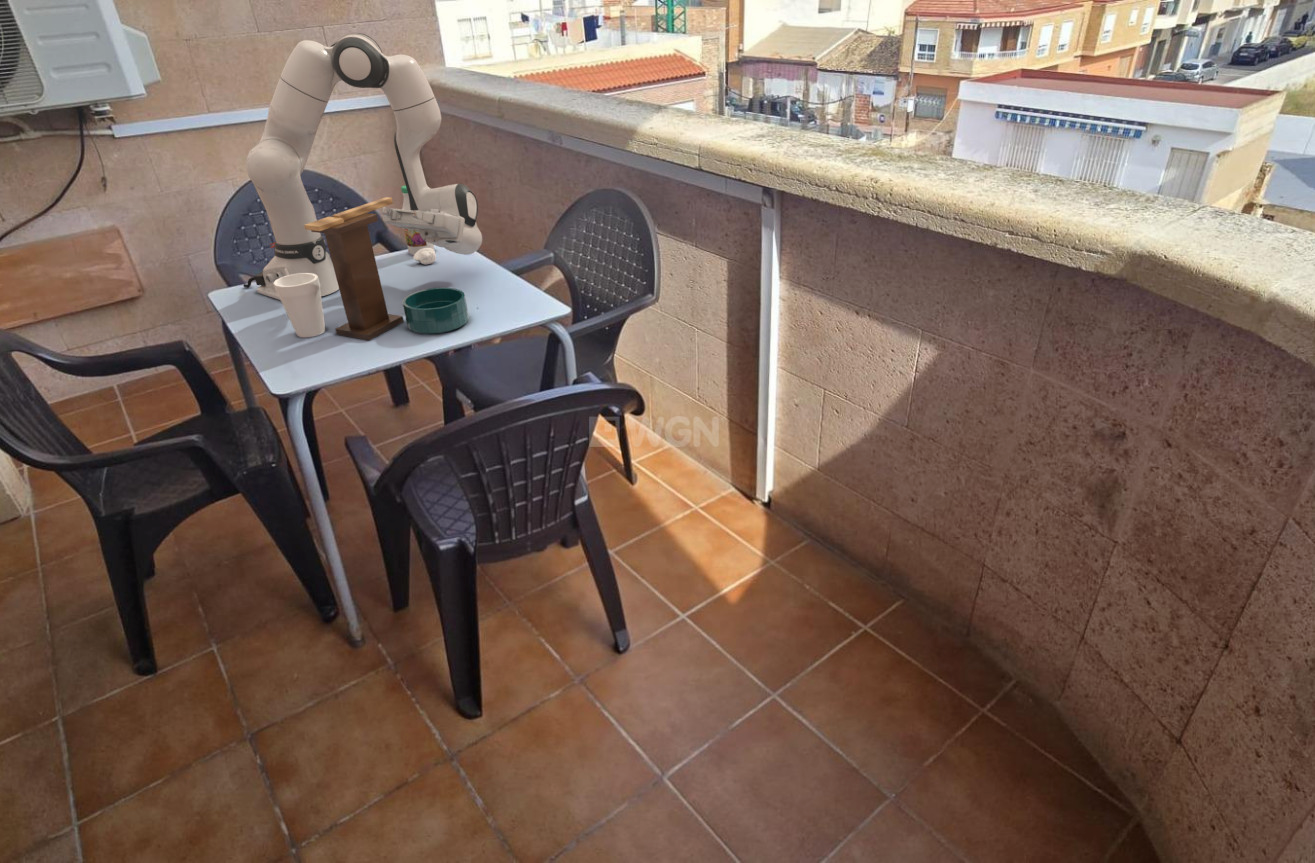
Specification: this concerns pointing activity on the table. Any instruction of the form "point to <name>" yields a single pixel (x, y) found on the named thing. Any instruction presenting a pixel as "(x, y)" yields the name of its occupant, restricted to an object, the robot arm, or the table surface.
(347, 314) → the wooden pedestal
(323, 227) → the spatula
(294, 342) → the table surface
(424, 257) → the white lumpy piece
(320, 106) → the robot arm
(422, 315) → the bowl
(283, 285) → the foam cup
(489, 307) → the table surface
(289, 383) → the table surface
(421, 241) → the milk bottle
